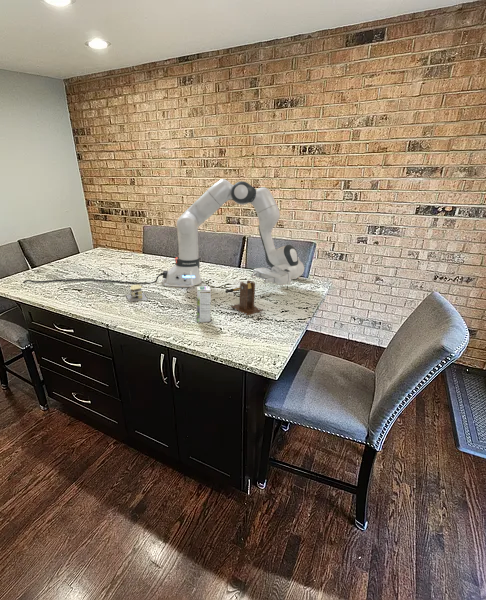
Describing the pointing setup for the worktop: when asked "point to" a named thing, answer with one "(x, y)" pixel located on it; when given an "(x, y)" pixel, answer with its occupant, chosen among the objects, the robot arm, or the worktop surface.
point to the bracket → (247, 299)
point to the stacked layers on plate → (136, 293)
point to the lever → (238, 288)
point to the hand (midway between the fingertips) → (258, 278)
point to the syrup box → (203, 303)
